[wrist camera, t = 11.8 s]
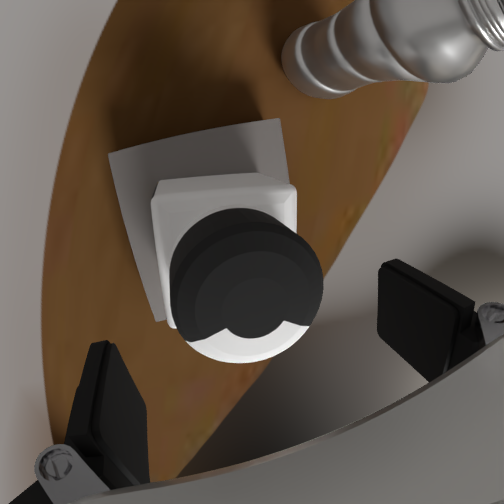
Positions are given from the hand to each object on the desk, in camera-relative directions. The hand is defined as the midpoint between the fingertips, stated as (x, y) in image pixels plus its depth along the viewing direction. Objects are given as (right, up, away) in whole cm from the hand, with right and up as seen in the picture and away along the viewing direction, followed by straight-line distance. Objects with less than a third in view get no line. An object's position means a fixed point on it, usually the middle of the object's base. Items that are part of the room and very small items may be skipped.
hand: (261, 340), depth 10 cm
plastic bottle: (+5, +19, +14) cm, 24 cm away
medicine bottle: (-3, +5, +12) cm, 14 cm away
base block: (-4, +6, +16) cm, 17 cm away
